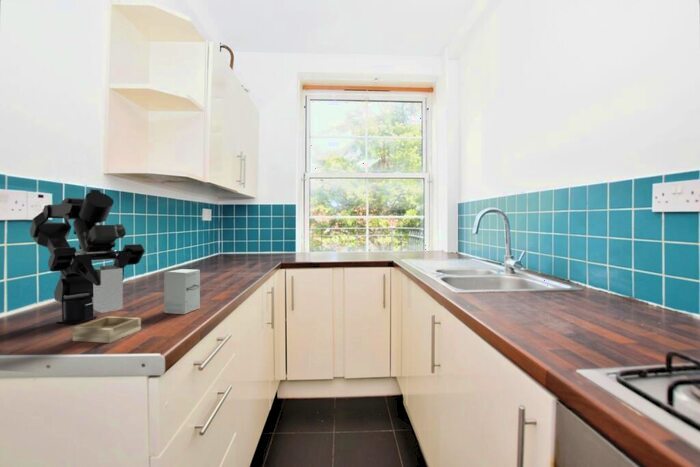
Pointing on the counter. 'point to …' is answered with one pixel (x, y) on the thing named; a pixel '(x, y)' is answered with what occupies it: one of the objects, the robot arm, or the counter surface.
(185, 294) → the supplement box
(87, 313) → the robot arm
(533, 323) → the counter surface
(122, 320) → the cream square holder
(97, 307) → the socket block
